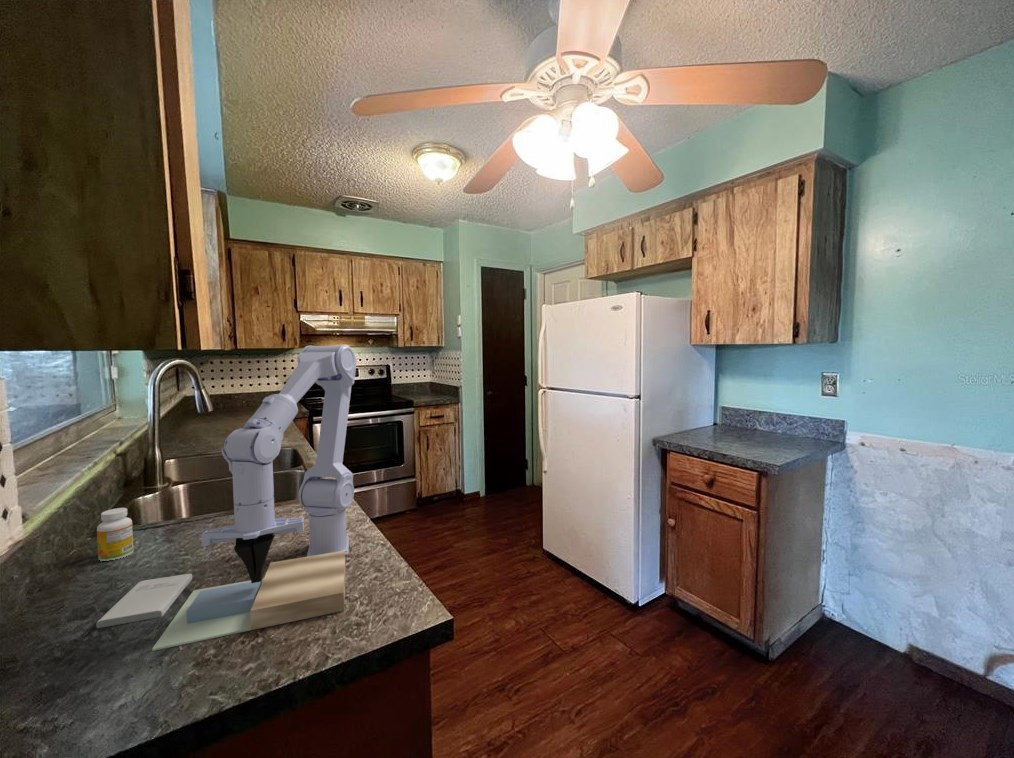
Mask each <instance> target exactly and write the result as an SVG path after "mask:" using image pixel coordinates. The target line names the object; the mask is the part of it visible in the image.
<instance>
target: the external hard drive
mask: <svg viewBox="0 0 1014 758" xmlns="http://www.w3.org/2000/svg"><path fill="white" fill-rule="evenodd" d="M192 580H193V574H192V573H185V574H179V575H171V576H166V577H165V576H164V577H158V578H152V579H145V580H141V581H139V582H137V583H136V584H135V585H134V586H133V587H132V588H131V589H130V590H129V591H128V592H127V593H126V594H125V595H124V596H123V597H121V599H119V601H117V602H116V603H115V604H114V605H113V606H112V607H111V608H109V610H108V611H107V612H106V613H104V615H103V616H101V617H100V619H99V620H98V621H96V629H102V628H107V627H112V626H119V625H124V624H127V623H128V624H129V623H133V622H134V623H136V622H140V621H141V622H142V621H147V620H150V619H157V618H162V617H163V616H164V615H165V613H166V612H167V611H168V610H169V609H170V607H171V606H172V605H173V604H174V602H175V601H176V600H177V598H179V597H180V595H181V594H182V592H183V591H184V590H185V588H187V586H188V585H189V583H191V581H192Z"/></svg>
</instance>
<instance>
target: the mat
mask: <svg viewBox="0 0 1014 758" xmlns="http://www.w3.org/2000/svg"><path fill="white" fill-rule="evenodd" d="M263 579H264V577H263V578H262V582H263ZM250 582H251V579H250V580H246V581H245V580H244V581H238V582H235V583H228V584H223V585H217V586H210V587H205V588H199V589H193V590H192V591H191V593H190V595H188V598H187V599H185V600H186V601H185V602H184V603H183V605H182V606H181V608H180V609H179V610H178V612H177V613H176V614H175V616H174V617H173V619H172V620H171V621H170V623H169V624H168V626H167V627H166V628H165V630H164V631H163V633H162V635H161V636H160V637H159V639H158V640H157V641H156V643H155V644H154V645H153V647H152V650H151V651H152V652H154V651H158V650H160V651H161V650H164V649H168V648H172V647H178V646H183V645H187V644H192V643H197V642H202V641H207V640H212V639H215V638H221V637H224V636H229V635H234V634H235V635H236V634H238V633H239V634H240V633H244V632H249V631H252V630H251V612H246V613H241V614H236V615H231V616H226V617H221V618H215V619H210V620H205V621H200V622H195V623H190V624H187V610H188V608H189V607H190V605H191V604H192V603H193V601H194V600H195V598H196V597H197V595H198V594H199V592H200V591H204V590H209V589H215V588H221V587H227V586H232V585H238V584H244V583H250Z"/></svg>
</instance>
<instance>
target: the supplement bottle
mask: <svg viewBox="0 0 1014 758" xmlns="http://www.w3.org/2000/svg"><path fill="white" fill-rule="evenodd" d="M128 514H129V513H128V508H127V507H118V508H113V509H112V508H111V509H108V510H105V511H102V512H101V513H100V519H101V520H100V521H102V522H100V523H99V524H98V525H97V527H96V538H97V539H96V541H97V542H96V543H97V556H98V561H99V560H100V561H99V562H102V561H109V560H114V561H116V560H115V559H118V560H121V559H124V558H126V556H127V557H129V556H131V555H132V554H133V553H134V535H133V532H134V531H133V520H132V518H131V517H127V516H128ZM128 555H129V556H128ZM123 557H124V558H123ZM120 558H121V559H120ZM109 562H110V561H109Z"/></svg>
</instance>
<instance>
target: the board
mask: <svg viewBox="0 0 1014 758" xmlns="http://www.w3.org/2000/svg"><path fill="white" fill-rule="evenodd" d="M346 563H347V561H346V556H345V551H339V552H333V553H327V554H321V555H314V556H308V557H307V556H303V557H302V556H301V557H296V558H292V559H291V558H290V559H284V560H278V561H272V562H269V565H268V568H267V570H266V573H265V575H264V576H263V578H264V579H263V582H262V584H261V587H260V589H259V591H258V594H257V596H256V599H255V601H254V603H253V606H252V608H251V630H250V631H254V630H258V629H262V628H269V627H272V626H277V625H282V624H288V623H290V622H292V623H293V622H296V621H300V620H306V619H310V618H311V619H312V618H315V617H319V616H325V615H329V614H334V613H339V612H342V611H345V595H346V570H347V569H346V566H347V565H346Z"/></svg>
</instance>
